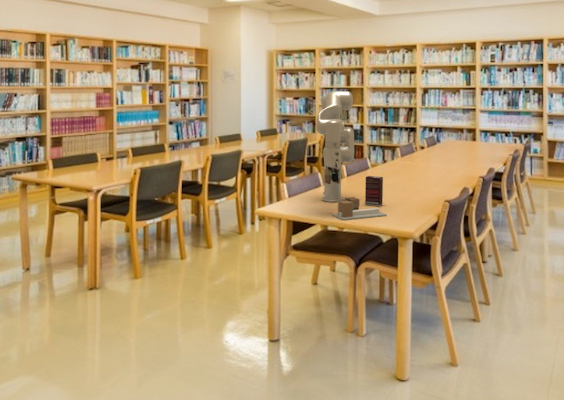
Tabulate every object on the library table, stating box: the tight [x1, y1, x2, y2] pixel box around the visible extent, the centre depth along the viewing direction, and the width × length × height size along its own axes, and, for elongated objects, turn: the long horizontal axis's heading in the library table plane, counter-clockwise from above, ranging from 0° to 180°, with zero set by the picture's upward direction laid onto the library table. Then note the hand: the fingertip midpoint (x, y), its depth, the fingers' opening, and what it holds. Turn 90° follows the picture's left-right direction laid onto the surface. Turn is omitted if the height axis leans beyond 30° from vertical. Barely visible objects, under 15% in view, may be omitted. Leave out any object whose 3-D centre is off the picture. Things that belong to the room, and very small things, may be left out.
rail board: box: [331, 200, 388, 221], centre depth 295 cm, size 12×25×8 cm, turn 113°
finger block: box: [324, 169, 340, 184], centre depth 298 cm, size 6×6×7 cm
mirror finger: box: [344, 196, 361, 210], centre depth 306 cm, size 6×6×7 cm
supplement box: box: [364, 175, 384, 207], centre depth 320 cm, size 9×5×16 cm, turn 59°
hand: (332, 180), depth 299 cm, fingers closed on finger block, 5 cm apart
